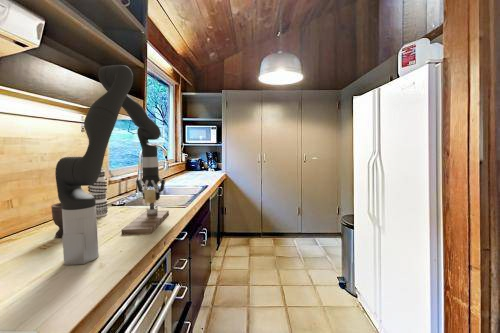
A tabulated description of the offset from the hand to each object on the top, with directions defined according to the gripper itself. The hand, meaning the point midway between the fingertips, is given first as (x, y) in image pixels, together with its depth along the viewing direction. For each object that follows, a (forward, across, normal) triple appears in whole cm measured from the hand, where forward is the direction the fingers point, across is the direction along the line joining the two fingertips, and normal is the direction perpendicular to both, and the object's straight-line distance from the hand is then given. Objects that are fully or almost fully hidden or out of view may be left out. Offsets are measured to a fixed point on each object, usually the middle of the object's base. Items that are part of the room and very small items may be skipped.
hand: (151, 199), depth 135 cm
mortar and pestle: (+10, -27, -22) cm, 36 cm away
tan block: (+1, 0, -3) cm, 3 cm away
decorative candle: (+10, -31, +11) cm, 34 cm away
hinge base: (+10, 0, -7) cm, 12 cm away
